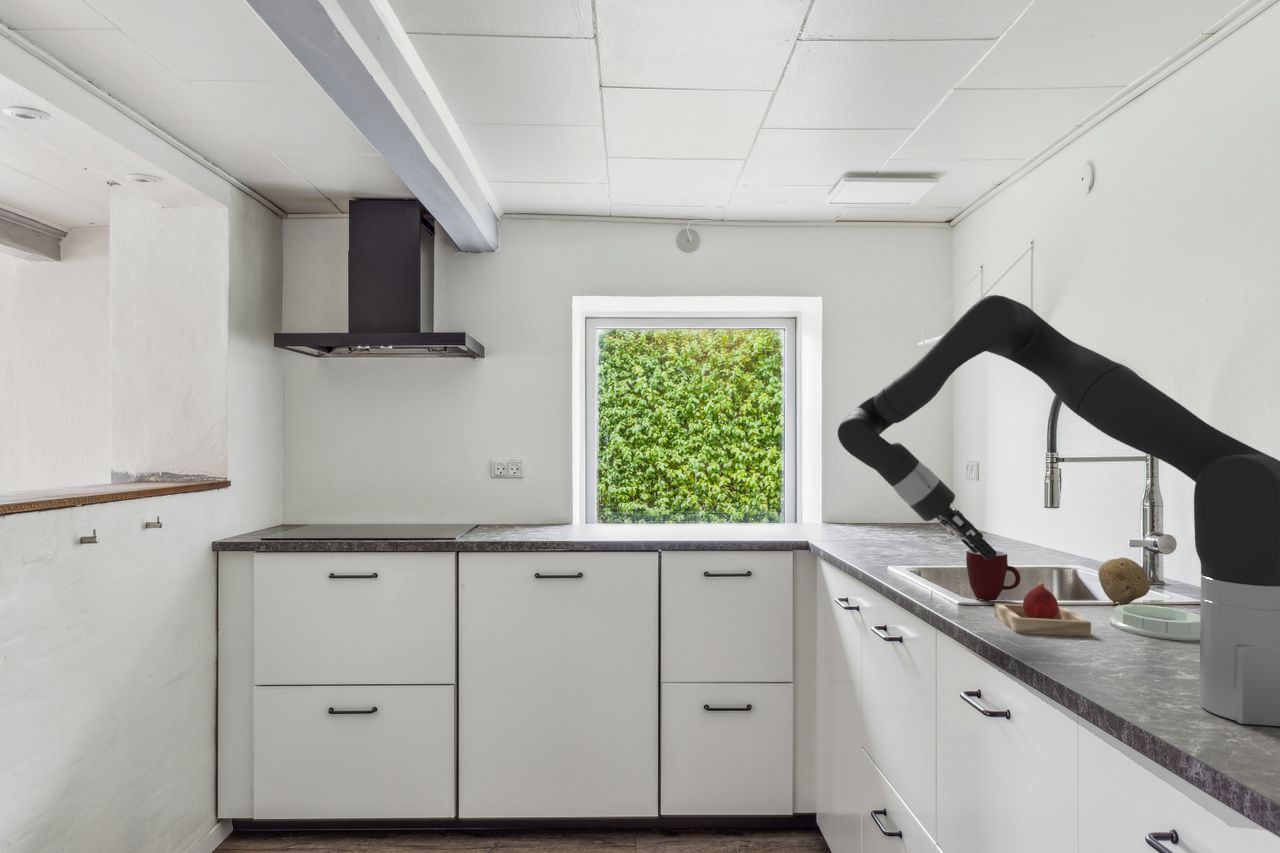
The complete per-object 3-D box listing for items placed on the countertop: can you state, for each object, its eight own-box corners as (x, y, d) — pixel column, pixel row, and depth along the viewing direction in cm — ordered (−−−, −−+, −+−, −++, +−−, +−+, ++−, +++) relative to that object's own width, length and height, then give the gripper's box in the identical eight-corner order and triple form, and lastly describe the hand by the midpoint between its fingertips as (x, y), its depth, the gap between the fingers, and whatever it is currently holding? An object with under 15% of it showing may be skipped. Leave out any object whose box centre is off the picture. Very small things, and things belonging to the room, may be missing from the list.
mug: (1018, 598, 164) (1019, 552, 164) (1021, 605, 156) (1021, 557, 156) (965, 593, 168) (966, 548, 168) (965, 600, 161) (966, 553, 161)
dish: (1228, 642, 130) (1228, 625, 130) (1133, 638, 133) (1134, 620, 133) (1180, 621, 145) (1180, 605, 145) (1096, 617, 147) (1096, 601, 147)
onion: (1062, 631, 137) (1063, 586, 137) (1028, 628, 138) (1028, 585, 138) (1051, 623, 142) (1052, 580, 142) (1018, 621, 144) (1019, 579, 144)
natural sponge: (1140, 602, 161) (1141, 555, 161) (1156, 612, 153) (1157, 562, 153) (1092, 599, 164) (1093, 553, 164) (1106, 608, 155) (1106, 560, 155)
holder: (1090, 636, 133) (1090, 622, 133) (1015, 632, 135) (1016, 618, 135) (1062, 619, 145) (1062, 606, 145) (994, 615, 147) (994, 603, 147)
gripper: (946, 479, 136) (1013, 545, 134) (928, 475, 150) (989, 534, 148) (915, 508, 137) (981, 574, 135) (900, 501, 151) (960, 560, 149)
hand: (985, 553), depth 142 cm, fingers open, 8 cm apart
